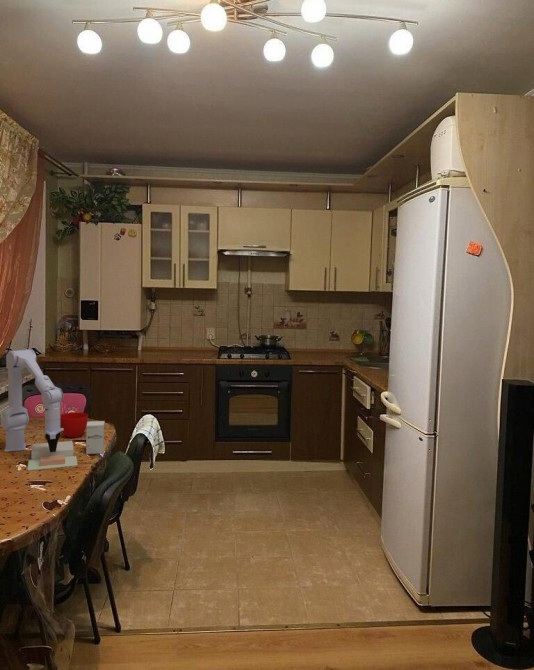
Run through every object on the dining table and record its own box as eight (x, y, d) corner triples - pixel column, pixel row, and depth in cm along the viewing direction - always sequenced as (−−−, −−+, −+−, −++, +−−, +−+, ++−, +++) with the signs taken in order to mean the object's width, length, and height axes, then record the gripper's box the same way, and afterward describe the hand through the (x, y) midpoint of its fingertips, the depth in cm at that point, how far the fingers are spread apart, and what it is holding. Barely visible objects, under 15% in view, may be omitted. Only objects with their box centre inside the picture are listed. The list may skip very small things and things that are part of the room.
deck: (32, 450, 218) (32, 444, 218) (72, 447, 224) (72, 440, 224) (31, 460, 206) (31, 453, 206) (73, 456, 213) (73, 449, 212)
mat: (28, 461, 205) (28, 460, 205) (76, 456, 212) (76, 455, 212) (27, 470, 194) (27, 469, 194) (77, 465, 201) (77, 465, 201)
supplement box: (85, 454, 216) (85, 425, 215) (87, 449, 223) (87, 421, 222) (104, 453, 218) (104, 424, 217) (104, 448, 225) (104, 420, 224)
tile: (40, 461, 198) (40, 466, 199) (65, 459, 202) (65, 464, 202) (40, 456, 204) (40, 461, 204) (64, 454, 207) (64, 459, 208)
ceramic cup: (95, 431, 252) (95, 411, 251) (80, 440, 235) (80, 419, 234) (70, 429, 253) (70, 409, 252) (53, 439, 236) (53, 418, 236)
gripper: (63, 422, 200) (63, 456, 201) (62, 414, 214) (63, 445, 215) (44, 423, 198) (44, 457, 199) (44, 415, 211) (44, 447, 212)
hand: (52, 451), depth 207 cm, fingers closed
